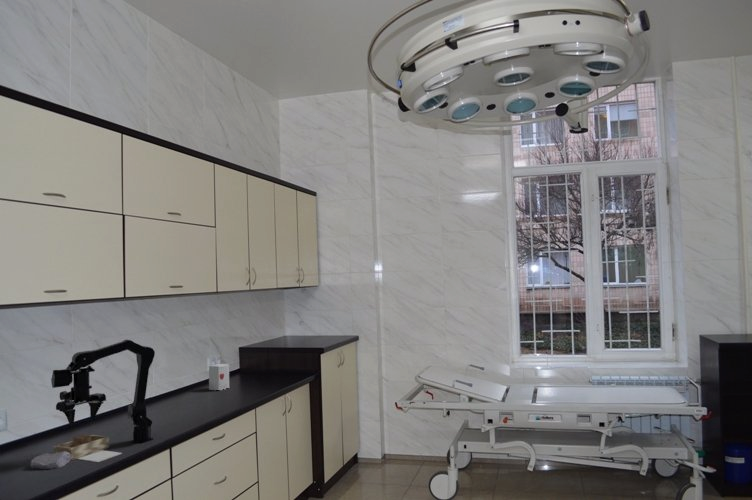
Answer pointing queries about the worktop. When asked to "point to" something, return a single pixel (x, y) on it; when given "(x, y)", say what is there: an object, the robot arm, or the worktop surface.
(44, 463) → the stone block
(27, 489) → the worktop surface
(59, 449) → the slot box
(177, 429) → the worktop surface
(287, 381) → the worktop surface
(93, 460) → the grey mat
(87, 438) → the walnut block
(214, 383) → the supplement box
